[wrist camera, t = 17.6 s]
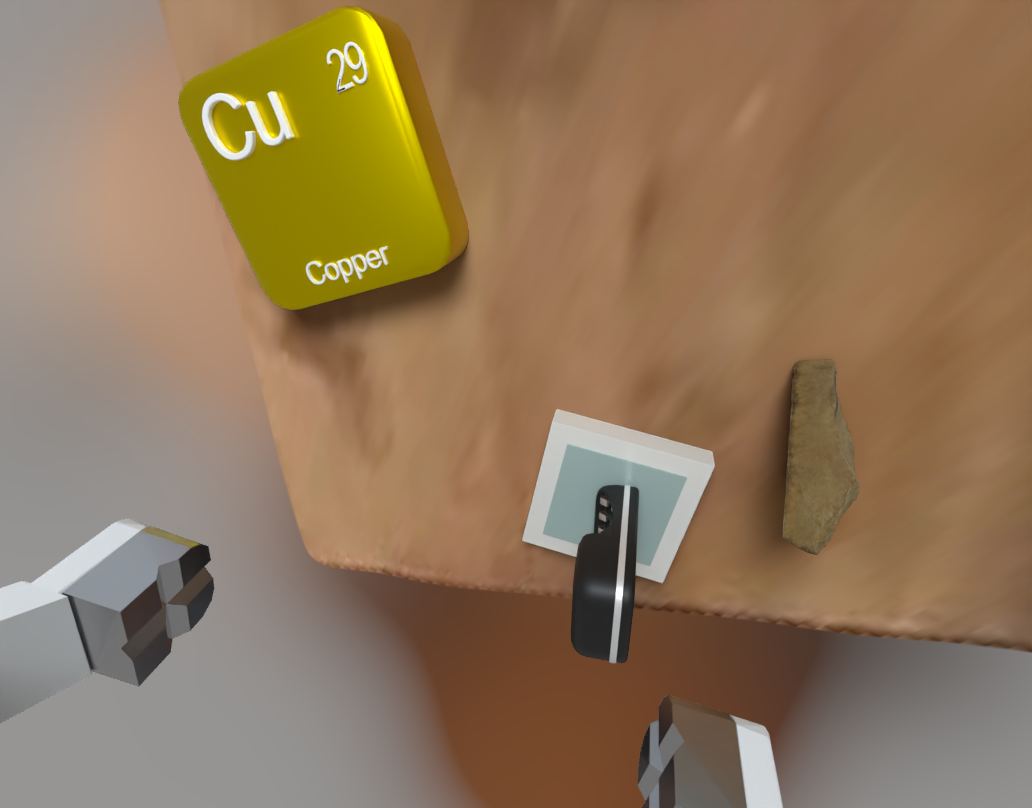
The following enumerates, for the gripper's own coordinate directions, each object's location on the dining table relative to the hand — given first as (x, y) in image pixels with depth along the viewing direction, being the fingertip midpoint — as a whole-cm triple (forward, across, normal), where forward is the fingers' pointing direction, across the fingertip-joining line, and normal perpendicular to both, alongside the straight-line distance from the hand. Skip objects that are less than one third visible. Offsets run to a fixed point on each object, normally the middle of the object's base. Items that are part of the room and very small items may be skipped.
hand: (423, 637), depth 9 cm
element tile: (+32, +18, -1) cm, 37 cm away
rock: (+31, -18, +8) cm, 37 cm away
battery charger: (+29, -6, +19) cm, 35 cm away
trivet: (+31, -6, +18) cm, 36 cm away
